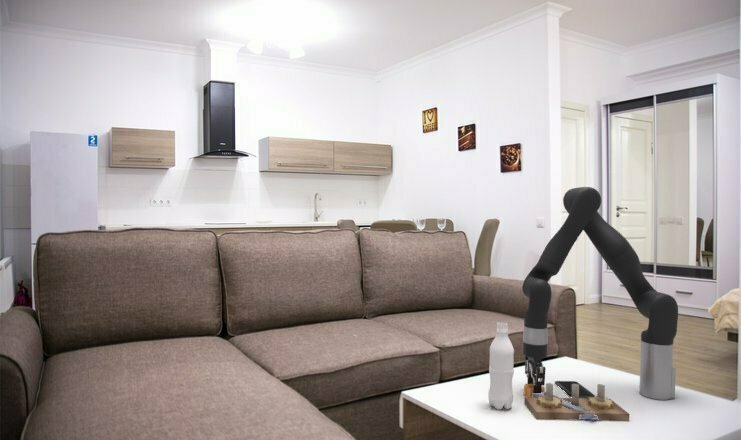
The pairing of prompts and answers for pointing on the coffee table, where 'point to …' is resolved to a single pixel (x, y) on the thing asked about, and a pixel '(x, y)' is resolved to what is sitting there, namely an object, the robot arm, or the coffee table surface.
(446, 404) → the coffee table surface
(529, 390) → the gear
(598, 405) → the gear board
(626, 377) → the coffee table surface
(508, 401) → the water bottle
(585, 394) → the phone
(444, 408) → the coffee table surface
